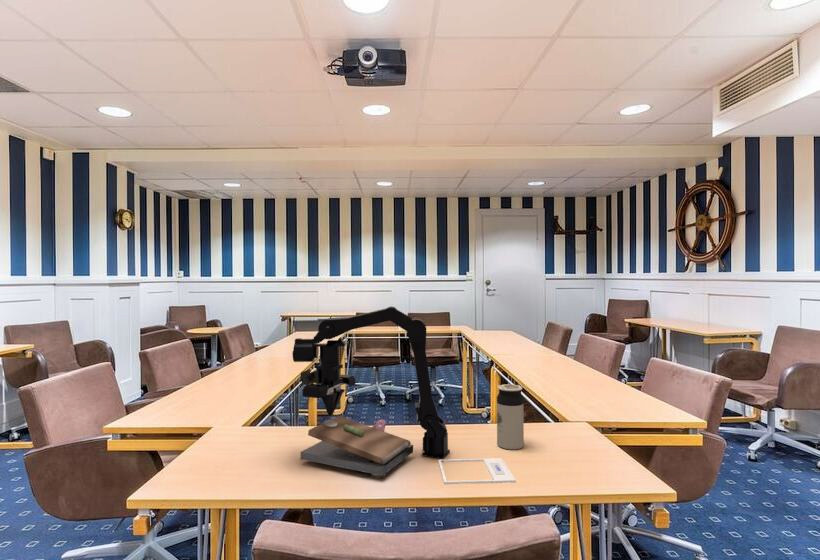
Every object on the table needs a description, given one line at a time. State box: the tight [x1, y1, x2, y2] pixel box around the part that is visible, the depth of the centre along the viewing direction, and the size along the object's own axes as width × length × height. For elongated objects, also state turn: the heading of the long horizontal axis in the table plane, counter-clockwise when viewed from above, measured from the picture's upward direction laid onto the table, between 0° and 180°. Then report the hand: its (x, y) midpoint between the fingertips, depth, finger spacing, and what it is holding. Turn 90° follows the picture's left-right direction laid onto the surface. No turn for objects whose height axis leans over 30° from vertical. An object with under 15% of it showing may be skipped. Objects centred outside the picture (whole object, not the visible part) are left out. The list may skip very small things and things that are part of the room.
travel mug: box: [496, 383, 525, 450], centre depth 141 cm, size 8×8×18 cm
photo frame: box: [437, 457, 517, 485], centre depth 122 cm, size 15×1×18 cm
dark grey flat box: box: [300, 440, 414, 479], centre depth 130 cm, size 26×18×4 cm
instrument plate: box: [307, 415, 412, 464], centre depth 129 cm, size 25×15×3 cm, turn 64°
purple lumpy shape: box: [371, 419, 387, 432], centre depth 148 cm, size 10×5×7 cm, turn 179°
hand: (330, 415), depth 134 cm, fingers closed
